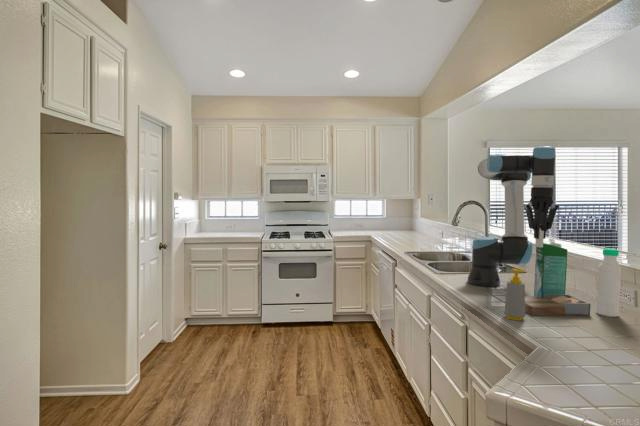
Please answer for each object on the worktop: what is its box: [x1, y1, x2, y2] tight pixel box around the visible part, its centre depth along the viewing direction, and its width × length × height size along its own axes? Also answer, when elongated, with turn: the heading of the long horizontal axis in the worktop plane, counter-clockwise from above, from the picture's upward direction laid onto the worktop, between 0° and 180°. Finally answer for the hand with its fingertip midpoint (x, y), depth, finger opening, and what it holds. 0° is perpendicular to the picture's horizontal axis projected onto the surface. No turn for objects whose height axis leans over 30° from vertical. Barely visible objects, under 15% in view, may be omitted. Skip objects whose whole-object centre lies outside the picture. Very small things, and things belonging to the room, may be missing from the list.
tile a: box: [551, 296, 572, 307], centre depth 152 cm, size 5×5×2 cm
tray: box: [544, 293, 592, 316], centre depth 152 cm, size 13×10×4 cm
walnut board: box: [525, 296, 566, 317], centre depth 152 cm, size 15×12×3 cm
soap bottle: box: [503, 268, 527, 321], centre depth 141 cm, size 7×7×18 cm
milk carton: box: [533, 241, 568, 297], centre depth 165 cm, size 9×9×25 cm
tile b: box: [569, 297, 581, 303], centre depth 152 cm, size 5×5×2 cm
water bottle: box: [595, 248, 622, 318], centre depth 146 cm, size 7×7×25 cm
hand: (539, 246), depth 152 cm, fingers closed
